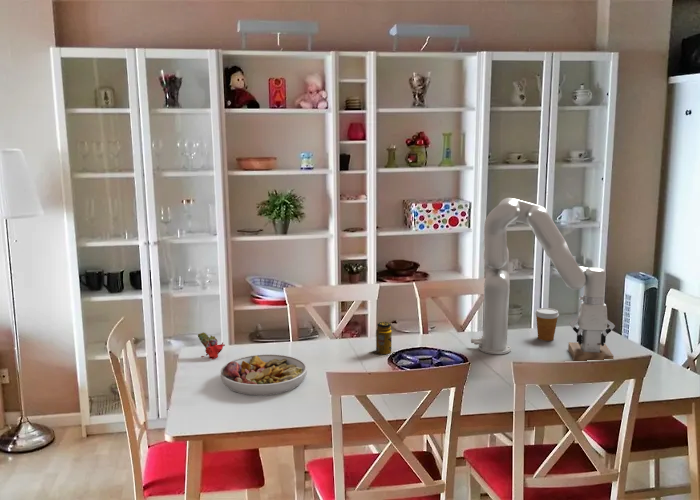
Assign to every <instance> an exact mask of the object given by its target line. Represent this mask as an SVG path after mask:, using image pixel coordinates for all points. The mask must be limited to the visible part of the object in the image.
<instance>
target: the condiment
mask: <svg viewBox="0 0 700 500" xmlns="http://www.w3.org/2000/svg"><path fill="white" fill-rule="evenodd" d="M376 327H377V328H376V333H375V334H376V335H375V338H376V339H375V341H376V343H375V348H376V349H375V350H372V351H368V352H367V354H370V355H373V356H376V357H379V358H384V357H387V356H389V355H390V356H391V355H392V354H391V353H393V352H394V351H393V350H392V337H393V336H392V333H393V332H392V331H393V330H392V327H391V323H390V322H389V321H379V322H377V325H376ZM388 354H389V355H388ZM393 354H394V353H393Z"/></svg>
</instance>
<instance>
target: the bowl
mask: <svg viewBox="0 0 700 500" xmlns="http://www.w3.org/2000/svg"><path fill="white" fill-rule="evenodd" d="M307 373H308V366H307V364H306V362H304V361H302V360H301V359H299V358H296V357H293V356H290V355H284V354H276V353H274V354H267V353H266V354H264V353H263V354H254V355H247V356H243V357H239V358H235V359H233V360H231V361H228V362H227V363H225V364H224V365H223V366H222V367H221V369H220V379H221V382H222V383H223V385H225V387H226V388H228V389H229V390H231V391H233V392H235V393H239V394H242V395H247V396H270V395H277V394H282V393H285V392H288V391H291V390H293V389H295V388H297V387H298V386H300V385H301V384H302V383H303V382H304V380H305V378H307V377H306V376H307Z"/></svg>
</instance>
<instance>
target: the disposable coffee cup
mask: <svg viewBox="0 0 700 500" xmlns="http://www.w3.org/2000/svg"><path fill="white" fill-rule="evenodd" d="M534 314H535V316H536V329H537V330H536V331H537V339H538V340H540V341H545V342H549V341H554V338H555V333H556V327H557V323H558V318H559V316H560V313H559V311H558V309H555V308H549V307H540V308H537V309H536V311H535V312H534Z"/></svg>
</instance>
